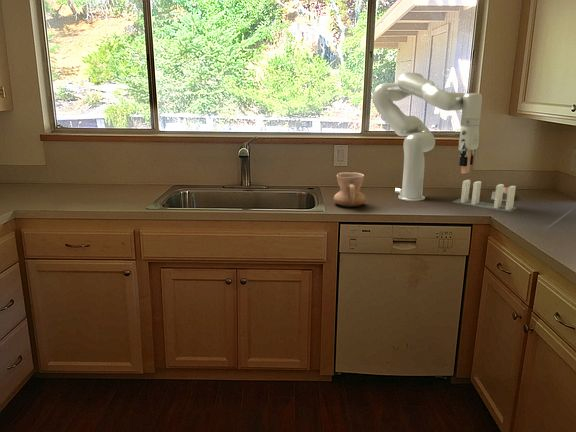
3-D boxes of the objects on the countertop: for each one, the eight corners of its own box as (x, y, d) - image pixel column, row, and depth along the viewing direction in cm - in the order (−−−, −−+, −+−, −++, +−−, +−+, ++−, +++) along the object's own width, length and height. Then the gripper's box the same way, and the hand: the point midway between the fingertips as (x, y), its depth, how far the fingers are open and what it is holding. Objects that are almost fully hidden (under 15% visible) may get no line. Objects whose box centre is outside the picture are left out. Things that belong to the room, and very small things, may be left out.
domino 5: (505, 209, 203) (508, 187, 200) (509, 207, 206) (512, 185, 204) (509, 210, 202) (512, 187, 199) (512, 208, 205) (515, 186, 203)
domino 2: (460, 202, 216) (462, 181, 213) (464, 200, 219) (467, 179, 217) (464, 202, 215) (466, 181, 212) (468, 200, 218) (470, 180, 216)
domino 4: (493, 207, 206) (496, 185, 203) (497, 205, 210) (500, 184, 207) (497, 208, 205) (500, 186, 202) (501, 206, 209) (504, 184, 206)
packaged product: (493, 185, 236) (514, 187, 232) (491, 194, 238) (513, 196, 234) (491, 191, 221) (514, 193, 217) (490, 201, 222) (513, 203, 218)
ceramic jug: (332, 200, 220) (333, 170, 216) (363, 200, 219) (364, 171, 215) (334, 210, 203) (335, 178, 199) (367, 210, 202) (368, 179, 198)
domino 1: (460, 173, 202) (463, 150, 199) (465, 171, 205) (468, 149, 202) (464, 173, 200) (466, 150, 198) (469, 172, 204) (471, 149, 201)
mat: (451, 203, 216) (451, 201, 216) (460, 199, 223) (460, 198, 223) (509, 213, 199) (510, 211, 199) (517, 208, 206) (517, 207, 206)
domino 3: (471, 203, 213) (473, 182, 210) (475, 202, 216) (477, 181, 213) (474, 204, 212) (477, 183, 209) (478, 202, 215) (481, 181, 212)
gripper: (470, 124, 189) (465, 168, 194) (486, 122, 201) (482, 164, 205) (452, 123, 194) (448, 166, 199) (469, 121, 206) (465, 162, 210)
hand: (465, 164), depth 202 cm, fingers closed on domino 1, 4 cm apart
